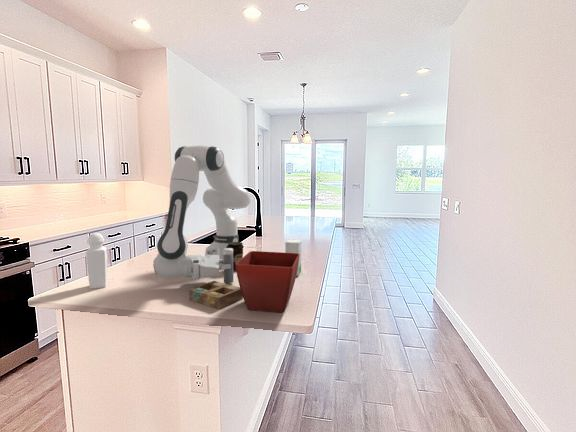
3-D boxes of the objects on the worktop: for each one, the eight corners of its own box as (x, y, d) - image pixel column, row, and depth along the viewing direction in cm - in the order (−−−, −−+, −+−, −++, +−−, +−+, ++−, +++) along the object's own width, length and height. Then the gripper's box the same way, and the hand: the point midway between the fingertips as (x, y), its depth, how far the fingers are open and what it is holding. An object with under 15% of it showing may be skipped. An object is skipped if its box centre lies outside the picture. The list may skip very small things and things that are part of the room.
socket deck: (189, 300, 118) (188, 288, 117) (214, 290, 128) (213, 280, 127) (218, 309, 110) (218, 297, 109) (242, 298, 120) (242, 287, 119)
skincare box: (298, 276, 147) (299, 243, 145) (284, 275, 148) (284, 242, 146) (301, 271, 155) (301, 239, 153) (288, 270, 156) (288, 238, 154)
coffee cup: (247, 267, 160) (247, 242, 159) (239, 272, 152) (239, 245, 151) (231, 266, 163) (231, 240, 162) (223, 270, 155) (222, 244, 154)
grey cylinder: (221, 282, 135) (221, 249, 134) (228, 279, 139) (228, 247, 137) (228, 284, 133) (228, 250, 131) (235, 281, 136) (235, 249, 135)
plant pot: (292, 318, 103) (292, 266, 101) (234, 313, 107) (234, 263, 105) (299, 296, 122) (300, 253, 120) (250, 293, 125) (250, 250, 123)
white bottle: (90, 284, 134) (87, 232, 131) (108, 282, 136) (105, 231, 134) (88, 289, 128) (84, 234, 125) (107, 287, 130) (103, 233, 128)
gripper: (198, 266, 143) (230, 264, 146) (194, 281, 123) (231, 279, 126) (197, 252, 142) (229, 250, 145) (194, 265, 122) (231, 263, 125)
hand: (230, 264), depth 135 cm, fingers closed on grey cylinder, 4 cm apart
